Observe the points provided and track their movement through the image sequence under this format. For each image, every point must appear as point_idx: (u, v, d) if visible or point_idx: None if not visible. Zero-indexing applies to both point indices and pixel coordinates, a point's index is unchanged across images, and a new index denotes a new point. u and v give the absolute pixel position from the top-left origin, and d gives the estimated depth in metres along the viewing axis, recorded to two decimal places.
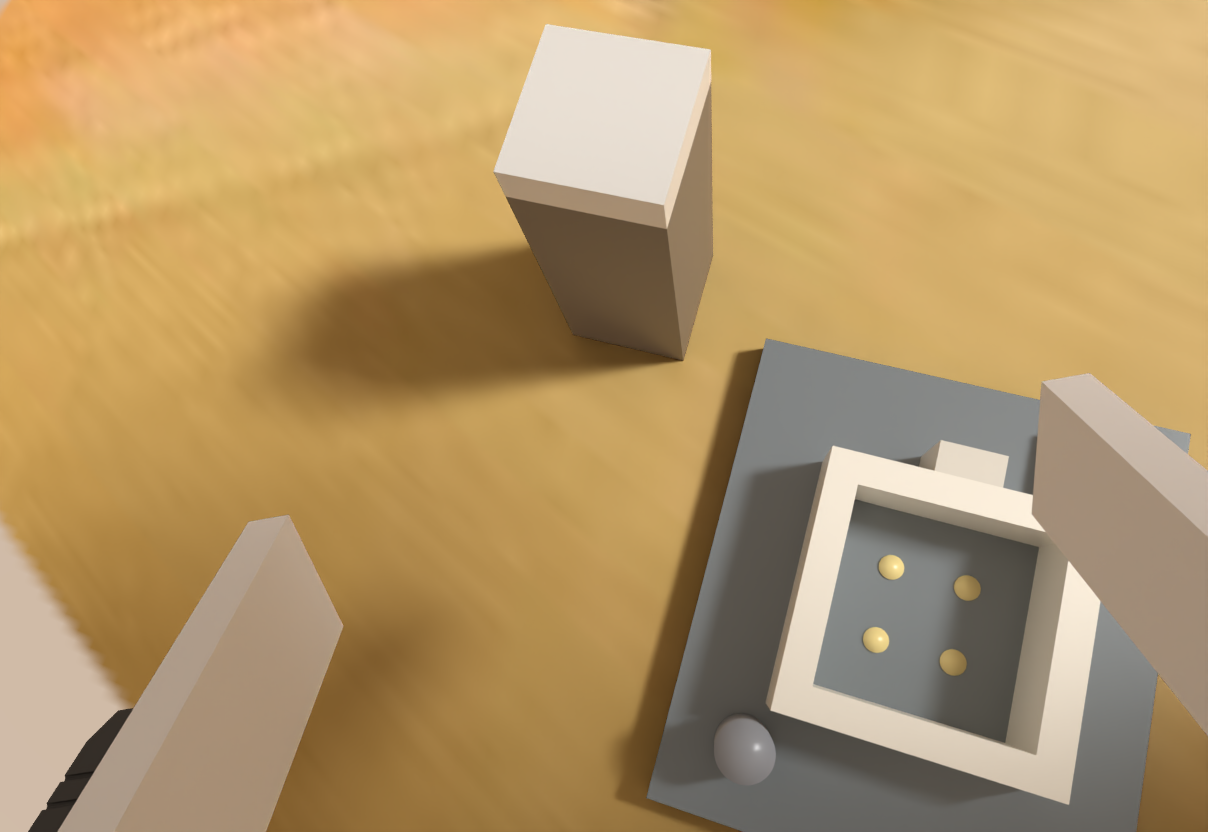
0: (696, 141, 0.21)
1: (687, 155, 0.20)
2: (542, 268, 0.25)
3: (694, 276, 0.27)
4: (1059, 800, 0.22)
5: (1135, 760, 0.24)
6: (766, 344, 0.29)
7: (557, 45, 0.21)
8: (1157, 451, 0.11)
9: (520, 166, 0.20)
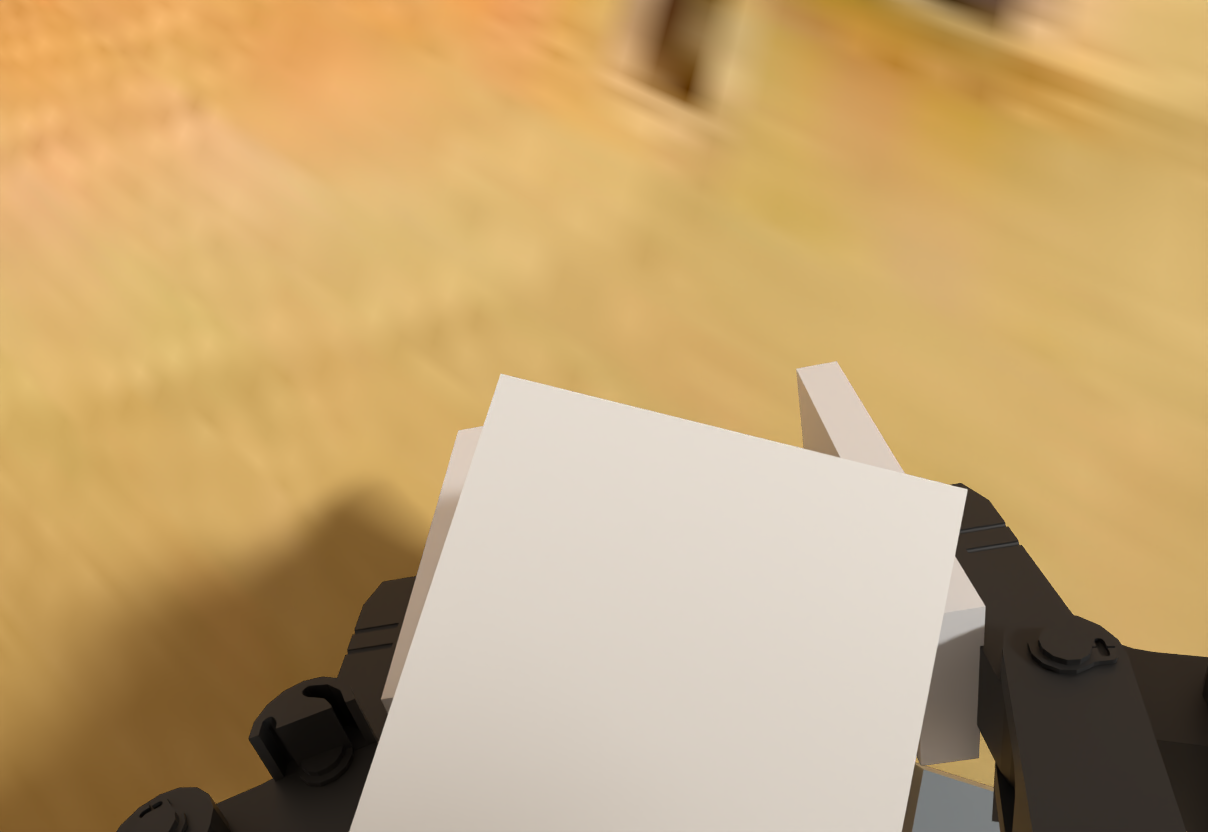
0: None
1: None
2: None
3: None
4: None
5: None
6: (924, 780, 0.16)
7: (531, 441, 0.08)
8: (855, 425, 0.13)
9: None
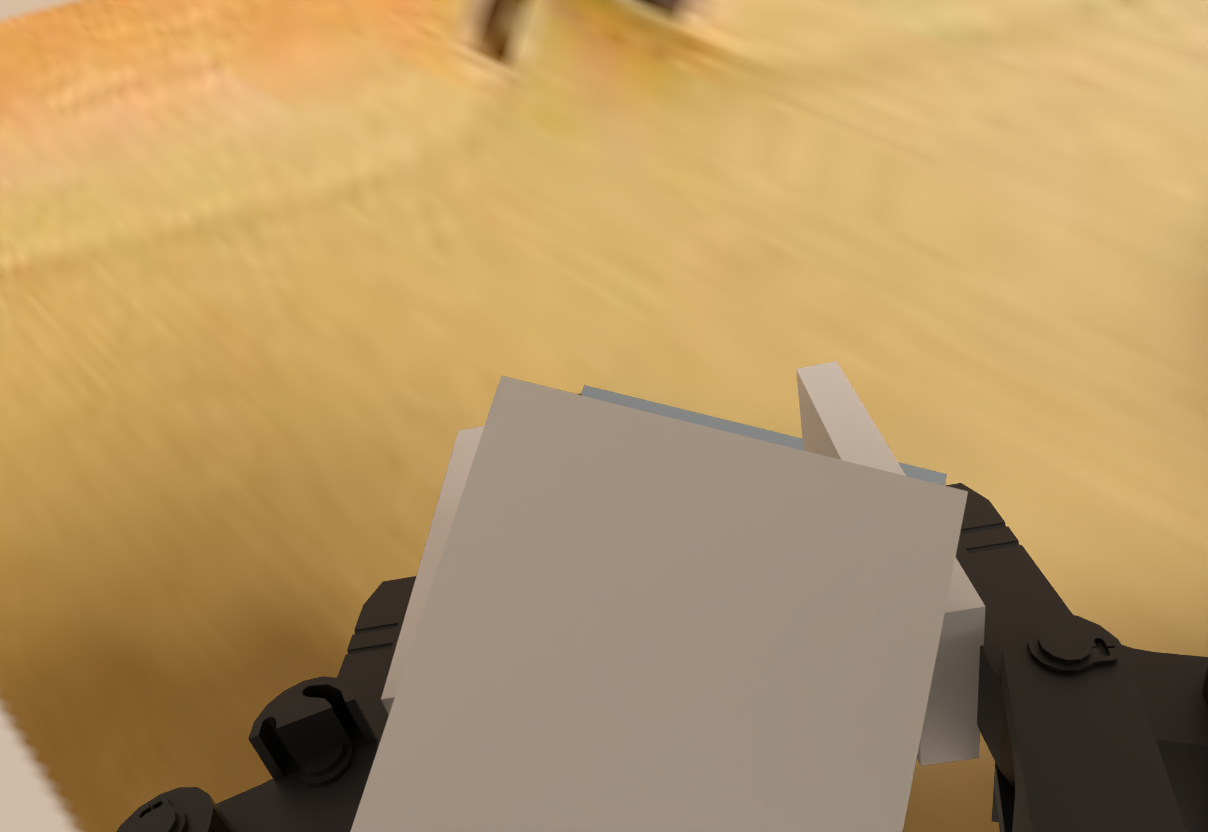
0: None
1: None
2: None
3: None
4: None
5: None
6: (584, 390, 0.32)
7: (531, 443, 0.08)
8: (855, 425, 0.13)
9: None
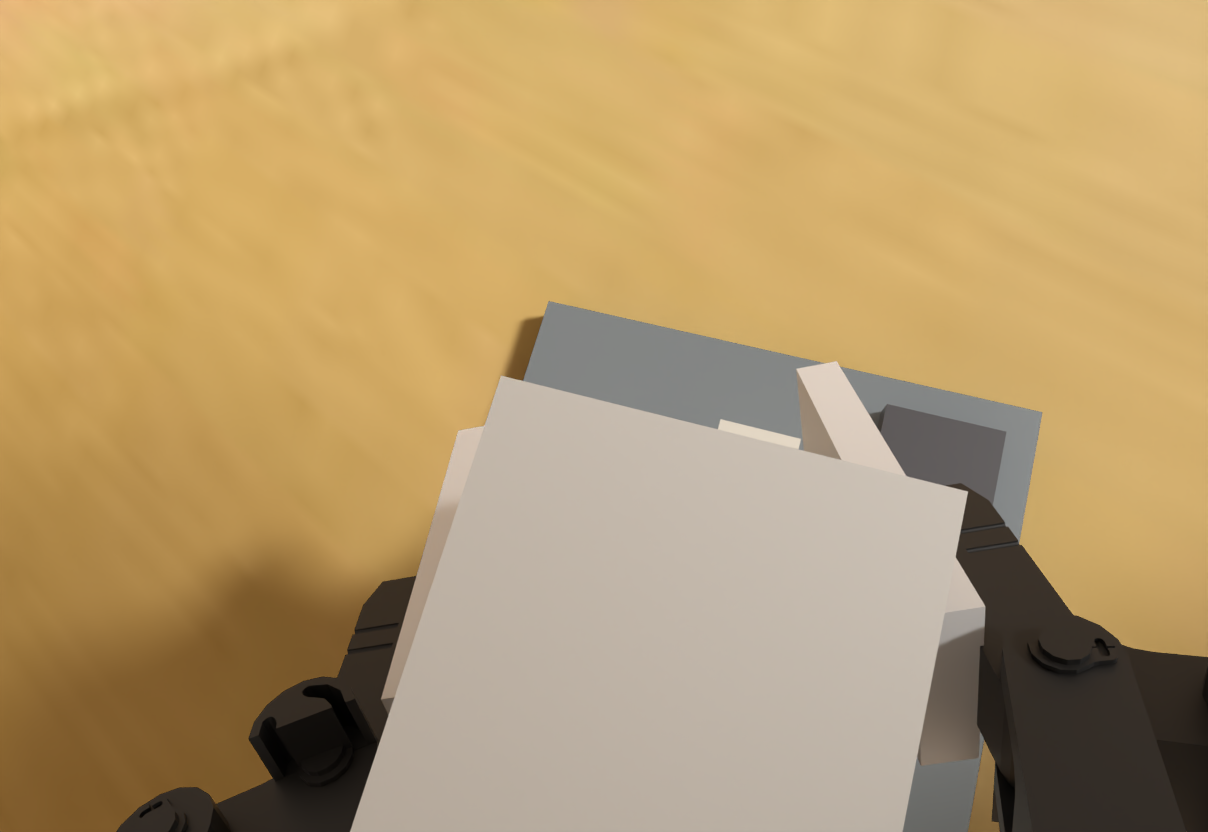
0: None
1: None
2: None
3: None
4: None
5: (957, 819, 0.19)
6: (549, 308, 0.24)
7: (531, 443, 0.08)
8: (855, 425, 0.13)
9: None
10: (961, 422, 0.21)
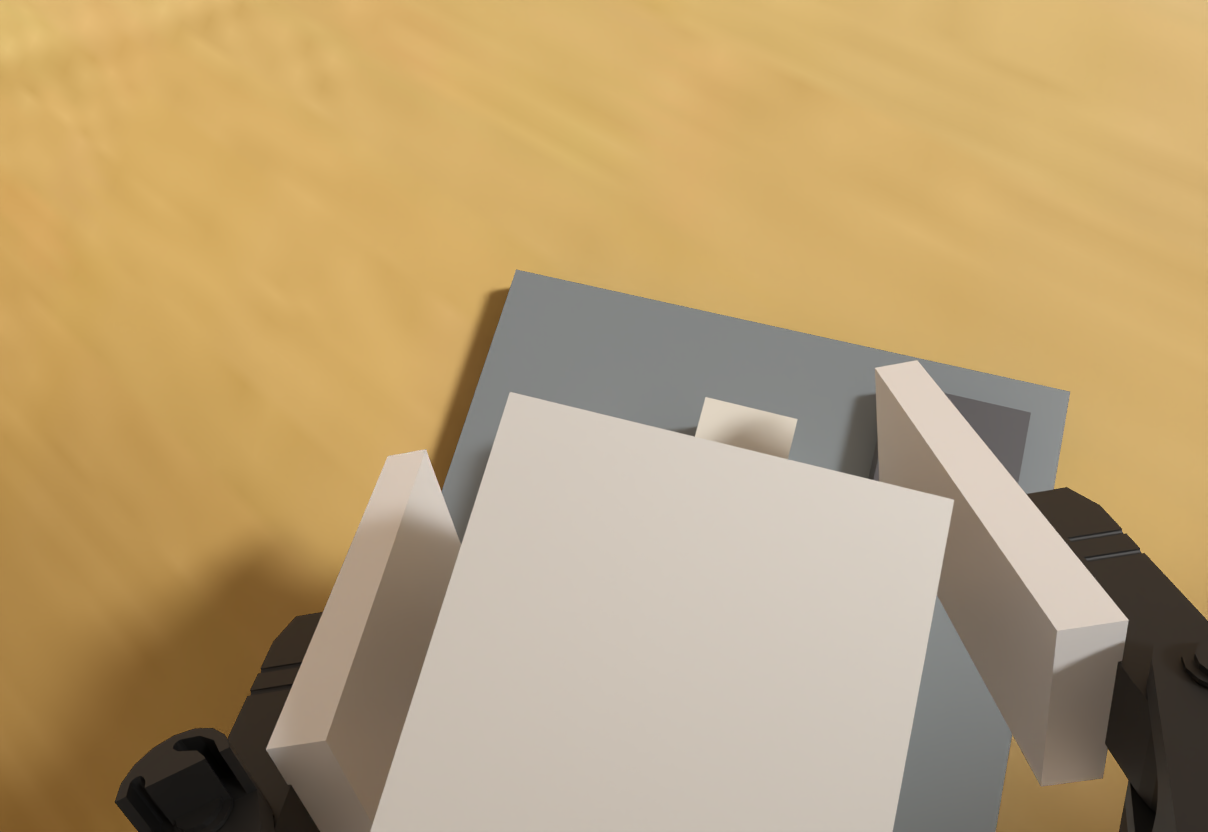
0: None
1: None
2: None
3: None
4: None
5: None
6: (516, 277, 0.22)
7: (539, 456, 0.08)
8: (949, 427, 0.12)
9: None
10: (979, 402, 0.18)
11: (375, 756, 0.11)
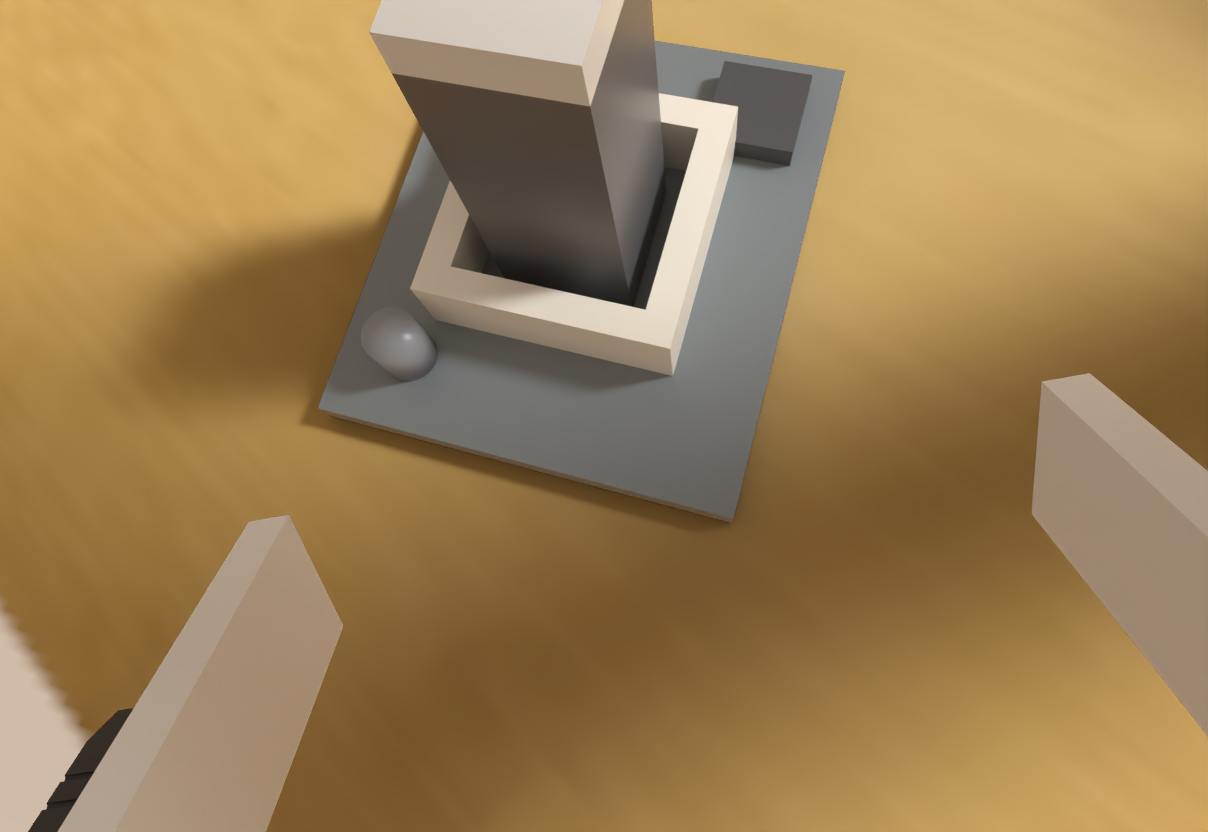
0: (629, 7, 0.17)
1: (615, 17, 0.16)
2: (455, 185, 0.21)
3: (640, 203, 0.23)
4: (662, 345, 0.23)
5: (766, 347, 0.25)
6: None
7: None
8: (1157, 451, 0.11)
9: (402, 25, 0.16)
10: (779, 70, 0.27)
11: None
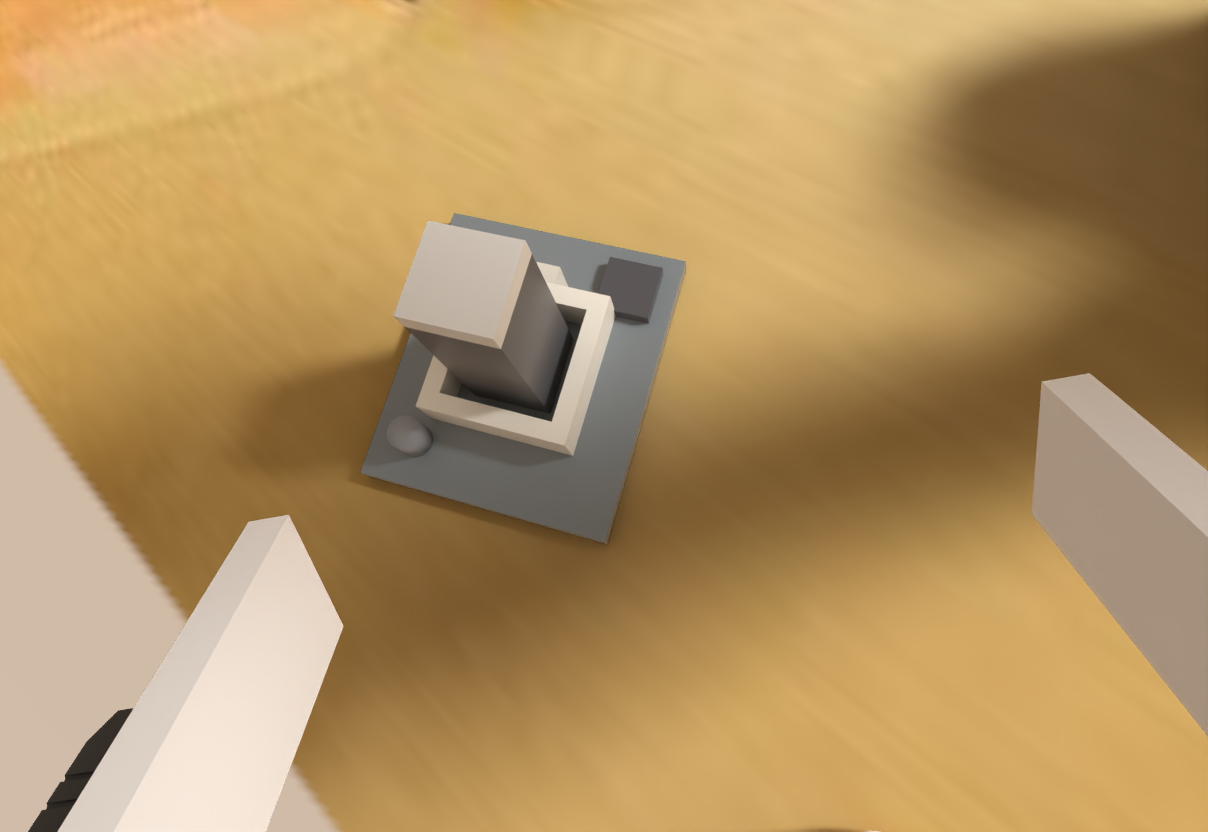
0: (523, 290, 0.34)
1: (514, 302, 0.33)
2: (439, 360, 0.38)
3: (548, 360, 0.40)
4: (560, 443, 0.40)
5: (629, 439, 0.42)
6: (454, 216, 0.47)
7: (434, 234, 0.33)
8: (1156, 451, 0.11)
9: (409, 313, 0.33)
10: (642, 264, 0.44)
11: None
